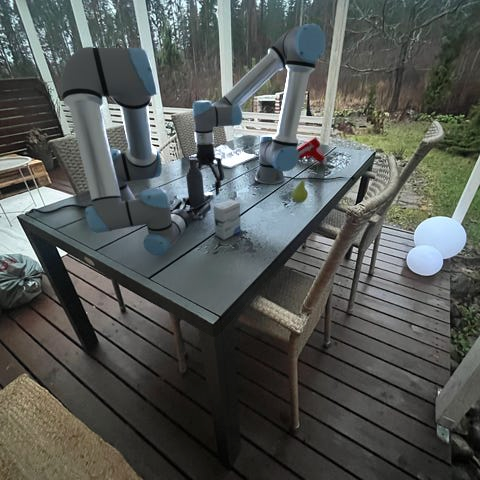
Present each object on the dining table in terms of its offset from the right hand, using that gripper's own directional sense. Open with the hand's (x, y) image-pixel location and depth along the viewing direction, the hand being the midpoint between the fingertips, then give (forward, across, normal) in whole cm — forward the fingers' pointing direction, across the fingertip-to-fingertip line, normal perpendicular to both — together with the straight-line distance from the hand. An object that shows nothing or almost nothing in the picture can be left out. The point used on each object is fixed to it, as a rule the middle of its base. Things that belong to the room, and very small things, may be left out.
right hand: (208, 193), depth 125 cm
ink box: (+2, +18, -29) cm, 34 cm away
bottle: (+2, +2, -18) cm, 18 cm away
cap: (0, 0, 0) cm, 0 cm away
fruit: (+2, +41, +5) cm, 42 cm away
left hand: (-4, +2, -13) cm, 14 cm away
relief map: (+2, -13, +63) cm, 64 cm away
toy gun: (+2, +42, +67) cm, 79 cm away
